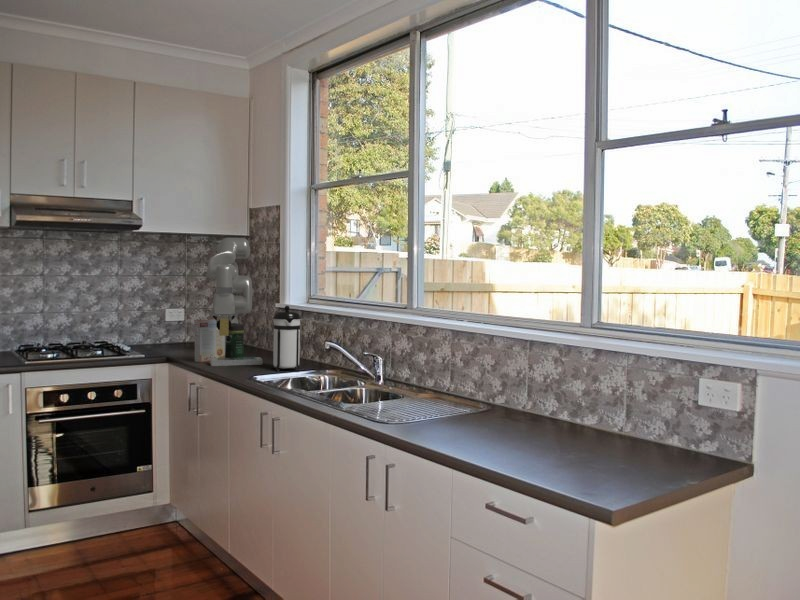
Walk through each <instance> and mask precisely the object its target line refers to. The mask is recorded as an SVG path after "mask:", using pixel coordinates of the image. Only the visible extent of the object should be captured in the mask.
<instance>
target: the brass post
mask: <svg viewBox="0 0 800 600" xmlns="http://www.w3.org/2000/svg"><path fill="white" fill-rule="evenodd" d="M219 320H220V330H219V335H220V336H229V319H228V318H219Z"/></svg>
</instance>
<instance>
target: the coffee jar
mask: <svg viewBox="0 0 800 600" xmlns="http://www.w3.org/2000/svg"><path fill="white" fill-rule="evenodd" d="M244 333H245V326H244V325H243V324H242V323H238V324H237V323H231V328H230V330H229V336H226V351H225V358H240V357H245V356H244V355H245V354H244V353H245V352H244V349H245V348H244Z"/></svg>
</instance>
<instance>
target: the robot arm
mask: <svg viewBox="0 0 800 600" xmlns="http://www.w3.org/2000/svg"><path fill="white" fill-rule="evenodd" d="M250 246H251V245H250V242H249V240H248V239H246V238H245V237H224V238H223V239H222V240H221V241H220V243H218V244H217V245H216V254H215V255H213V256H212V257H211V258H210V259H209V260H208V264H207V268H206V269H207V270H206V274H207V278H209V280H212V281H215V293H214V295H213V300H212V309H211V310H210V312H209V313H208V316H210V317H211V318H213V319H215V320H216V321H217V328H218V330H220V320H219V318H228V319H229V330H230V328H231V323H237V324H239V320H238V318H237V317H239V315H240V314H250V313H251V312H252V309H253V281H252V280H253V279H252V278H251V277H250V276H248V275H239V265H238V263H237V262H236V260H237V259H238V260H240V259H241V260H246V259H249V257H250V255H251V247H250ZM234 294H243V295H234ZM225 351H226V336H225Z"/></svg>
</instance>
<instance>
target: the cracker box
mask: <svg viewBox="0 0 800 600" xmlns="http://www.w3.org/2000/svg"><path fill="white" fill-rule="evenodd" d="M193 323H194V325H193V326H194V330H193V331H194V362H196V363H207V362H208V363H210V358H225V336H220V335H219V330H218V328H217V321H216V320H215V319H214V318H213V319H196V320H194V322H193Z"/></svg>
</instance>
